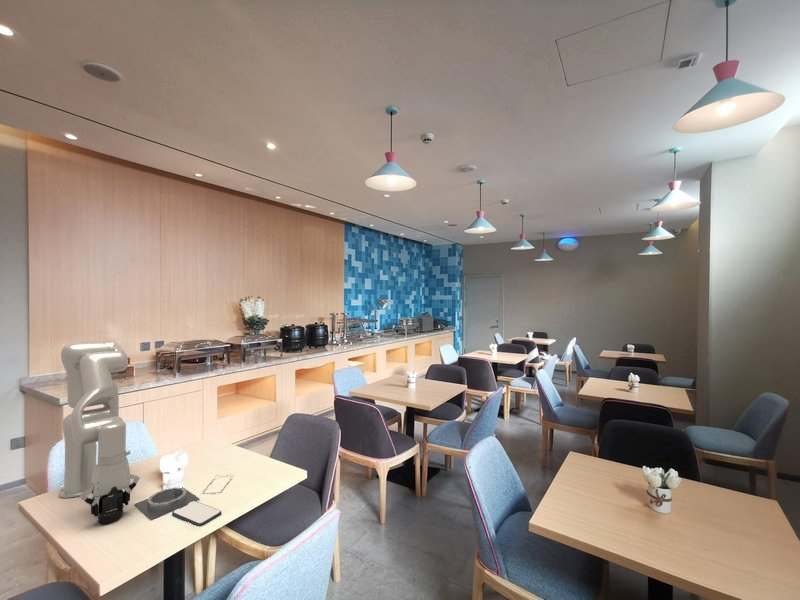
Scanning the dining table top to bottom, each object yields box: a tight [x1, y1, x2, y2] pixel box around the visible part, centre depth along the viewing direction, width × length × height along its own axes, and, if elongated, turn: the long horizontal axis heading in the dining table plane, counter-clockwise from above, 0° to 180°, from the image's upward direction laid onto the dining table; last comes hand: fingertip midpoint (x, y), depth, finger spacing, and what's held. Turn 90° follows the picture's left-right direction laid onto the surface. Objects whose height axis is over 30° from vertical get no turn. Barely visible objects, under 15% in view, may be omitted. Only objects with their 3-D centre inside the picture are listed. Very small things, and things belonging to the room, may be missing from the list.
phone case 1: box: [171, 501, 222, 527], centre depth 125 cm, size 9×2×16 cm
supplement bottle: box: [97, 486, 124, 526], centre depth 122 cm, size 7×7×12 cm
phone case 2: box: [200, 473, 234, 495], centre depth 146 cm, size 7×1×15 cm
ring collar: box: [134, 486, 200, 521], centre depth 133 cm, size 16×16×3 cm
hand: (110, 509), depth 122 cm, fingers open, 7 cm apart
